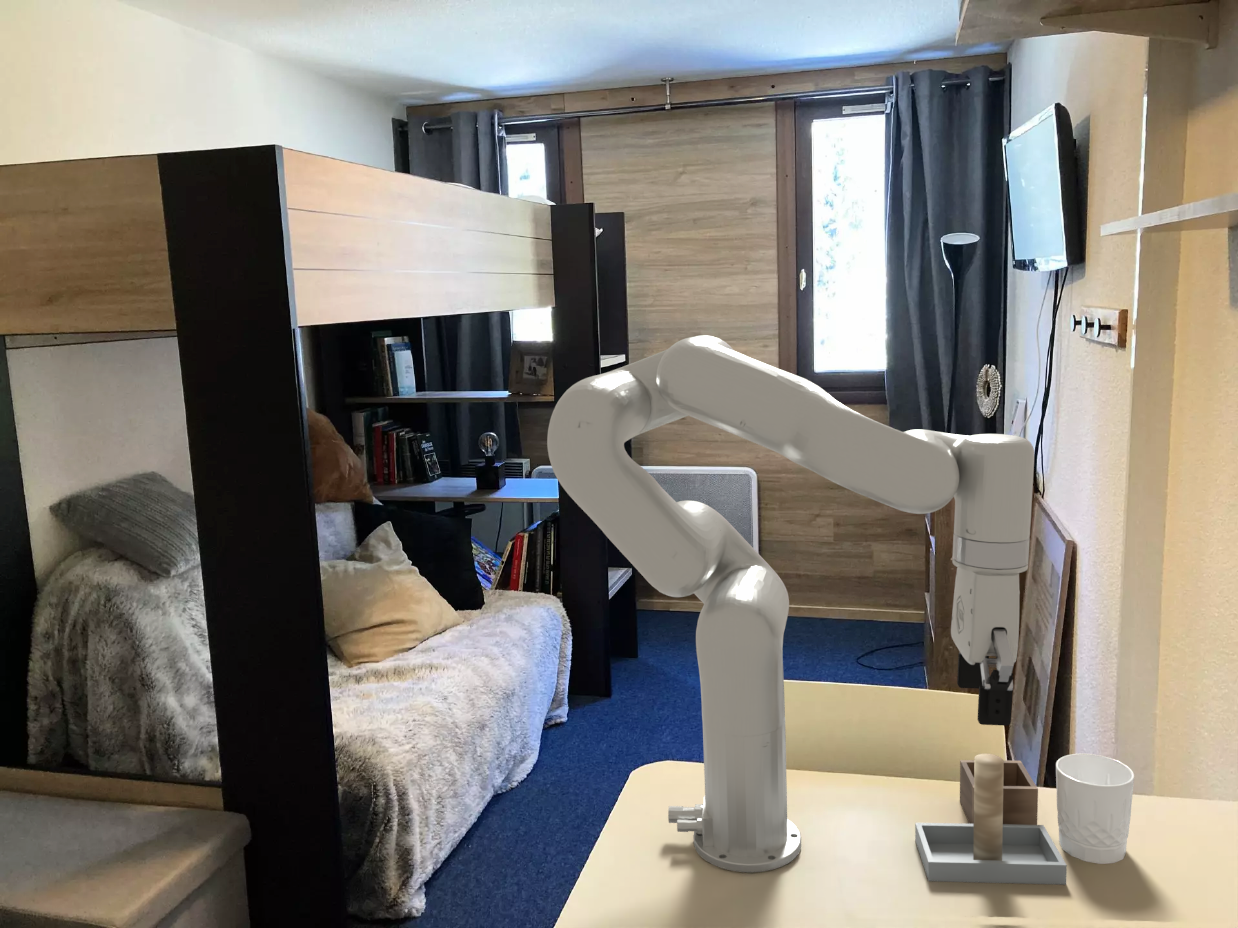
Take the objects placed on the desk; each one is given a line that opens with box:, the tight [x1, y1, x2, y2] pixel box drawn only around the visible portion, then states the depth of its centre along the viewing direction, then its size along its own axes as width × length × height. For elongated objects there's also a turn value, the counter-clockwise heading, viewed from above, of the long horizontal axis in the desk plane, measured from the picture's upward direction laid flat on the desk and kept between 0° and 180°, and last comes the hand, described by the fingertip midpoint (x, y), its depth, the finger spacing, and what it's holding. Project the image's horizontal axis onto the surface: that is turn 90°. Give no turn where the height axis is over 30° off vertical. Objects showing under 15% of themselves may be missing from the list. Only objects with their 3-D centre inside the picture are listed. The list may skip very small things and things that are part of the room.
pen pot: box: [959, 759, 1039, 825], centre depth 119 cm, size 7×7×6 cm
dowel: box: [973, 753, 1005, 861], centre depth 109 cm, size 3×3×12 cm
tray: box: [914, 822, 1068, 886], centre depth 110 cm, size 14×8×3 cm, turn 83°
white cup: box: [1055, 753, 1135, 865], centre depth 111 cm, size 8×8×10 cm
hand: (982, 704), depth 107 cm, fingers open, 9 cm apart
